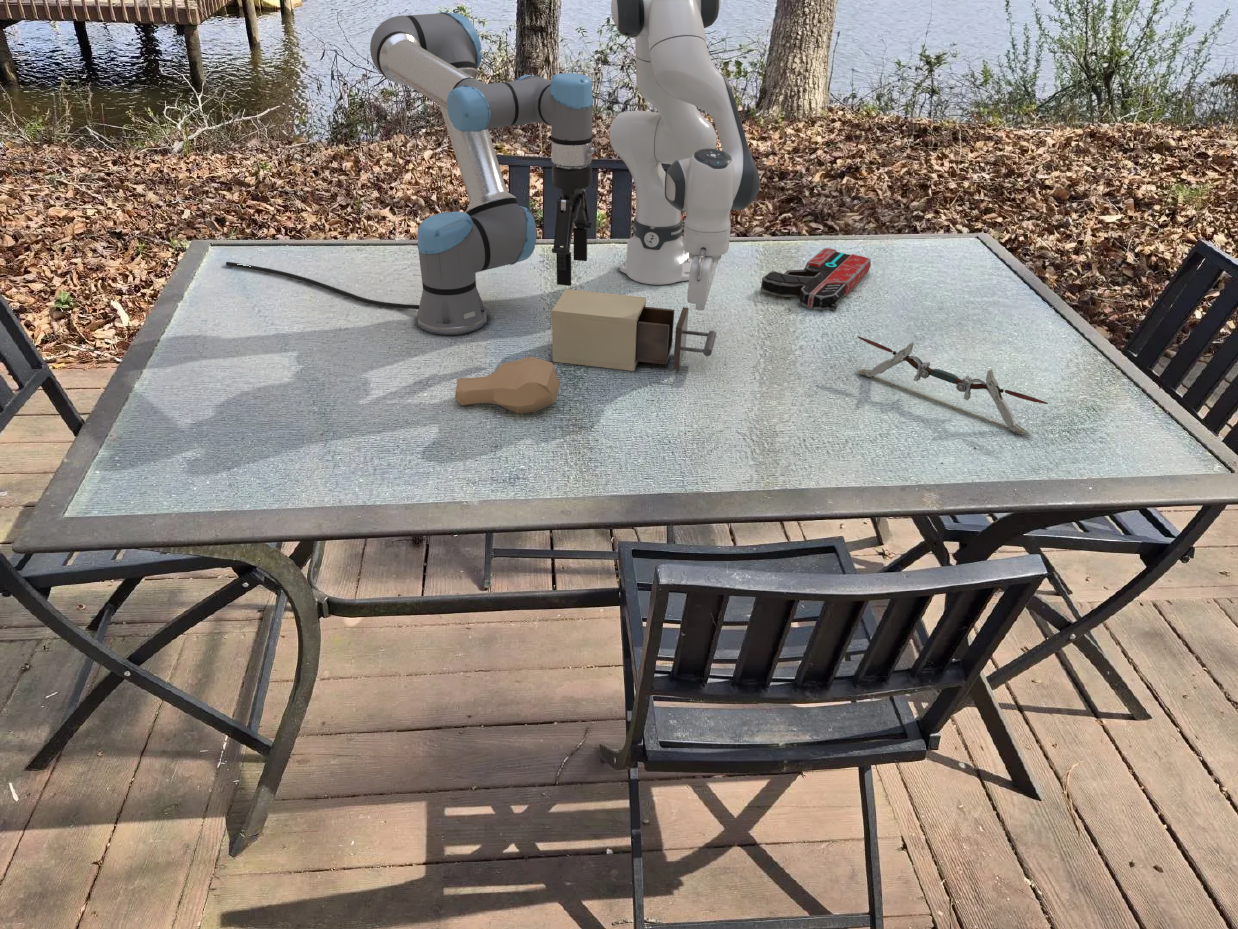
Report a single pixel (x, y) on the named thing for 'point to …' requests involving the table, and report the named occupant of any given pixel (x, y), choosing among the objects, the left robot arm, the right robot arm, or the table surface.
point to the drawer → (666, 336)
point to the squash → (513, 386)
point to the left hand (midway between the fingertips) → (572, 272)
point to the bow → (962, 385)
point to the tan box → (596, 329)
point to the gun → (819, 279)
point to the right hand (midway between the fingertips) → (700, 307)
